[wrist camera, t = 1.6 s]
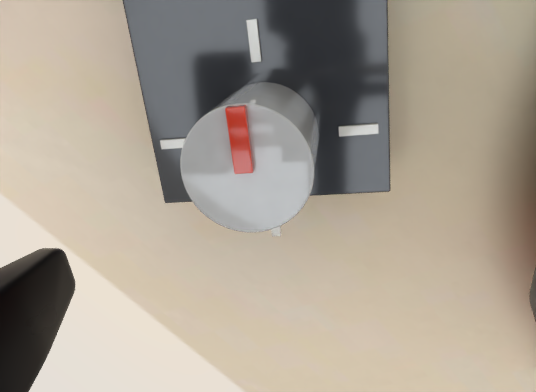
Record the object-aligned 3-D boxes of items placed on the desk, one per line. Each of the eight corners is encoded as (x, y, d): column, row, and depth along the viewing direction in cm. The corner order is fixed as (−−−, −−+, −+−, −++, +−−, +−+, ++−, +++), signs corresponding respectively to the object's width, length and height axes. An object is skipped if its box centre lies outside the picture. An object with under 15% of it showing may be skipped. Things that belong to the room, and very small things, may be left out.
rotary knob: (323, 183, 17) (318, 235, 14) (221, 189, 18) (189, 239, 14) (315, 76, 16) (307, 99, 12) (205, 87, 17) (164, 111, 13)
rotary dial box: (383, 200, 21) (391, 231, 18) (192, 209, 22) (170, 240, 19) (373, -323, 14) (382, -407, 11) (105, -260, 16) (52, -320, 13)
